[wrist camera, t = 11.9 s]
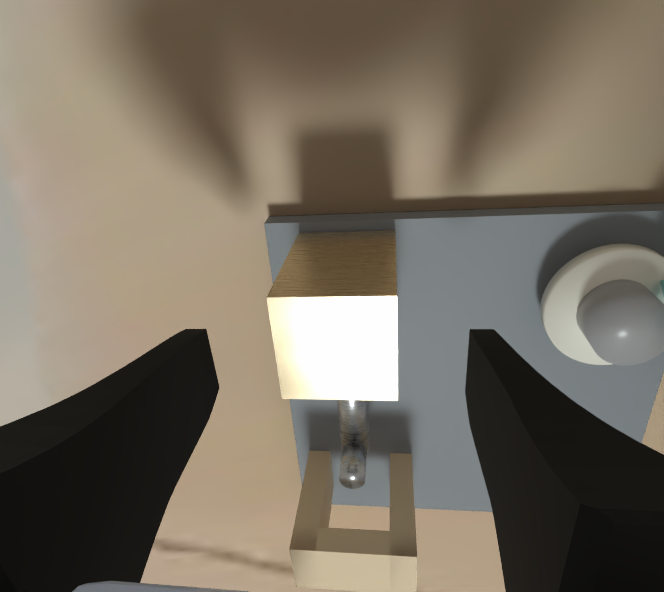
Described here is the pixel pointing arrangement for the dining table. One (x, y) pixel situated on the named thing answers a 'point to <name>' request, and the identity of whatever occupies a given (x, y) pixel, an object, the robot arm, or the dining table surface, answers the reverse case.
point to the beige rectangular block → (339, 330)
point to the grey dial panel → (450, 372)
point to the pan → (607, 306)
